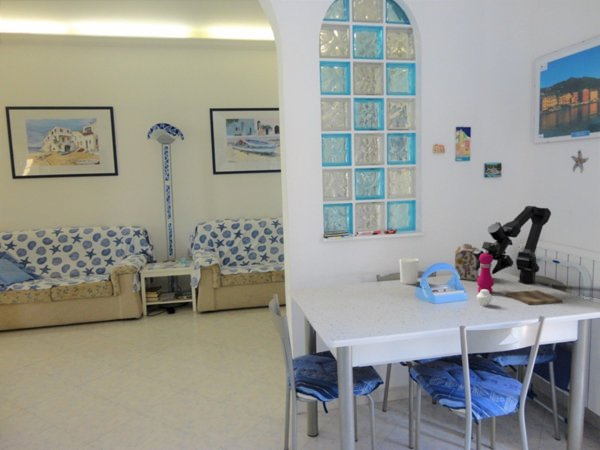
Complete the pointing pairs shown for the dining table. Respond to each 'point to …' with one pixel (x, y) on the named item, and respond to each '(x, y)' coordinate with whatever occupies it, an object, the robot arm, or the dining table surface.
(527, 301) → the walnut board
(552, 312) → the dining table surface
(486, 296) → the white rounded lump
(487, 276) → the pepper mill
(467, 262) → the decorative jar
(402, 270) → the candle holder
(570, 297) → the dining table surface
